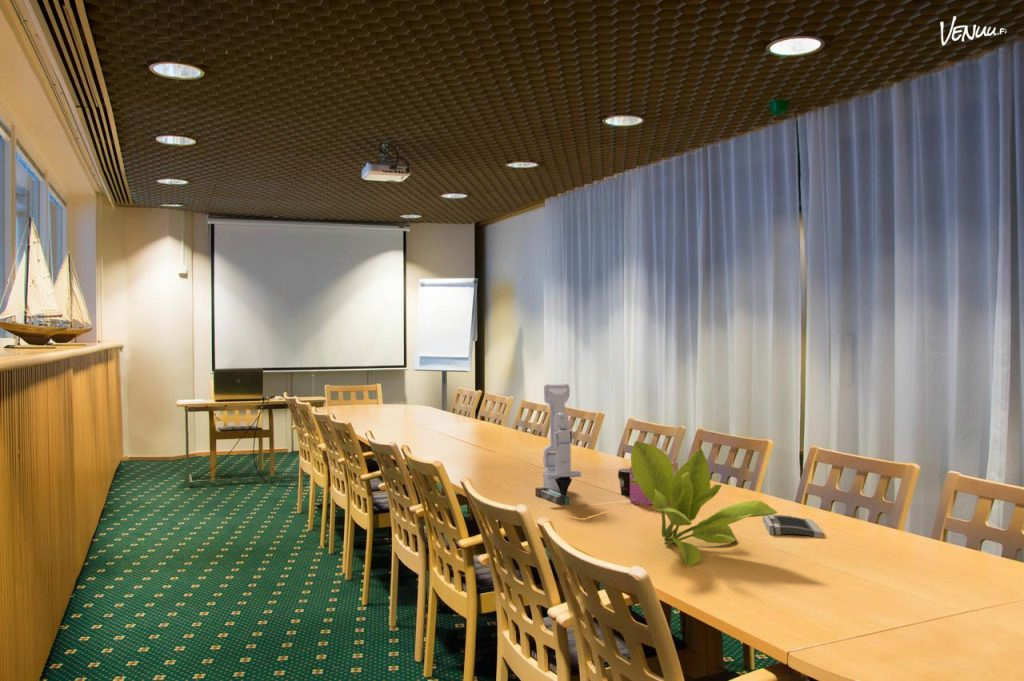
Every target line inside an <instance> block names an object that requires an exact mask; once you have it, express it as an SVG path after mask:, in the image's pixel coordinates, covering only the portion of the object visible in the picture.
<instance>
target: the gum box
mask: <svg viewBox="0 0 1024 681" xmlns="http://www.w3.org/2000/svg"><path fill="white" fill-rule="evenodd" d="M671 464H672V468H673V477H674V475H675V473H676V472H677V470H678V469H679V464H678V461H676V462H671ZM629 468H630V496H629V502H632V503H631V504H634V503H637V504H636V505H639V504H642V505H641V506H645V505H647V506H649V504H650V505H653V503H652V502H651V501H650V500H649V499H648V498H647V497H646V496H645V494H644V493H643V491H642V490H641V488H640V486H639V485H638V483H637V482H636V480H635V478H634V476H633V472H632V467H631V466H630V467H629Z"/></svg>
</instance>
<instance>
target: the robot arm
mask: <svg viewBox="0 0 1024 681" xmlns="http://www.w3.org/2000/svg"><path fill="white" fill-rule="evenodd" d="M570 390H571V389H570V384H569V383H567V382H565V383H545V384H544V385H543V400H544V403H545V404H547V405H548V406H549V416H550V418H549V421H550V422H549V427H550V428H549V430H550V432H549V433H550V437H549V438H550V439H549V440H550V441H549V442H550V443H549V444H548V445H547V446H546V447H545V448H544V450H543V459H542V461H543V462H542V464H543V467H544V468H545V469H544V470H543V474H542V476H543V477H542V478H543V480H542V481H543V482H542V483H543V486H542V487H548V488H549V490H552V491H555V492H558V491H559V493H560V494H562V495H566V496H567V493H568V489H569V487H570V485H571V483H572V480H573V479H572V478H581V477H582V472H581V471H580V470H579V471H577V470H574V471H573V470H572V464H571V463H572V457H571V456H572V455H571V454H572V448H571V446H572V444H573V431H572V429H571V428H572V427H570V421H569V416H568V415H567V414H566V412H565V411H566V410H565V404H567V402H568V400H569V399H570V398H569V397H570Z"/></svg>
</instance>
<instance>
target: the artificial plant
mask: <svg viewBox="0 0 1024 681" xmlns="http://www.w3.org/2000/svg"><path fill="white" fill-rule="evenodd" d="M707 461H708V460H707V458H706V456H705V453H704V451H703V449H702V448H698V449H697V450H696V451H695V452H694V453H693V454H692V456H691V457H690V458H689V459H688V460H687V461H686V462H685V463H684V464H682V465H681V466H680V467H678V470H677V472H676V473H675V475H674V477H673V468H672V464H671V463H672V462H671V460H670V458H669V457H668V455H666V454H665V453H664V452H663V450H661V448H658V447H656V446H654V445H652V444H649V443H648V442H647V443H646V442H643V441H635V442H634V443H633V446H632V449H631V454H630V464H631V466H630V467H632V472H633V476H634V478H635V480H636V482H637V483H638V485H639V486H640V488H641V490H642V491H643V493H644V494H645V496H646V497H647V498H648V499H649V500H650V501H651V502H652V503H653V504H652V505H653V506H652V507H653V509H654V510H656V511H661V512H660V513H661V536H662V537H663V539H664V545H669V544H671V543H672V544H673V545H675V544H676V545H677V546H678V548H679V550H680V551H681V554H682V559H683V562H684V565H685V566H686V567H687V566H689V567H691V566H692V565H695V564H697V563H699V562H700V561H702V559H703V557H702V556H703V555H702V553H701V551H700V549H699V548H698V547H696V546H695V545H693V544H692V543H689V542H685V541H683V540H685V539H688V538H691V537H693V538H696V539H697V540H698V539H699V540H700V541H701V540H702V541H704V542H707V543H709V544H710V543H712V544H729V543H732V542H735V541H737V537H736V536H735V534H734V532H733V530H732V528H731V527H730V524H735V523H737V522H739V521H742V520H743V519H745V518H754V517H755V518H757V517H763V516H766V515H775V514H776V515H777V514H778V511H777V510H776V509H774V508H772V507H771V506H769V504H767V503H765V502H763V501H762V500H749V501H748V500H747V501H743V502H739V503H735V504H732V505H731V504H730V505H728V506H725V507H722V508H721V509H719V510H718V511H716V512H715V513H714V514H712V515H711V516H709V517H707V518H705V519H703V520H701V521H699V523H697V524H695V525H693V526H691V527H689V528H686V529H684V530H682V531H681V532H678V531H679V528H680V527H681V526H690V525H692V523H693V522H691V521H694V520H695V519H696V518H697V515H698V514H699V512H700V510H701V508H702V506H704V505H705V504H706V503H708V502H709V501H710V500H713V498H714V497H715V496H717V494H718V493H719V491H720V490H721V488H722V485H723V484H714V485H713V486H712V487H711V471H710V469H709V464H708V462H707ZM670 498H671V499H670ZM669 503H670V505H669ZM666 516H667V518H668V520H669V525H668V527H666V526H667V525H666V524H667V523H666ZM674 526H675V528H674ZM673 528H674V529H673ZM690 532H691V533H690ZM687 533H690V534H689V535H685V536H683V535H684V534H687ZM687 568H688V567H687Z"/></svg>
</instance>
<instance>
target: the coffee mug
mask: <svg viewBox="0 0 1024 681" xmlns="http://www.w3.org/2000/svg"><path fill="white" fill-rule="evenodd" d="M617 471H618V473H617V477H618V480H619V486H620V493H621V494H620V495H621V496H624V497H625V496H626V497H630V467H629V468H628V467H627V468H620V469H618V470H617Z"/></svg>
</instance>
